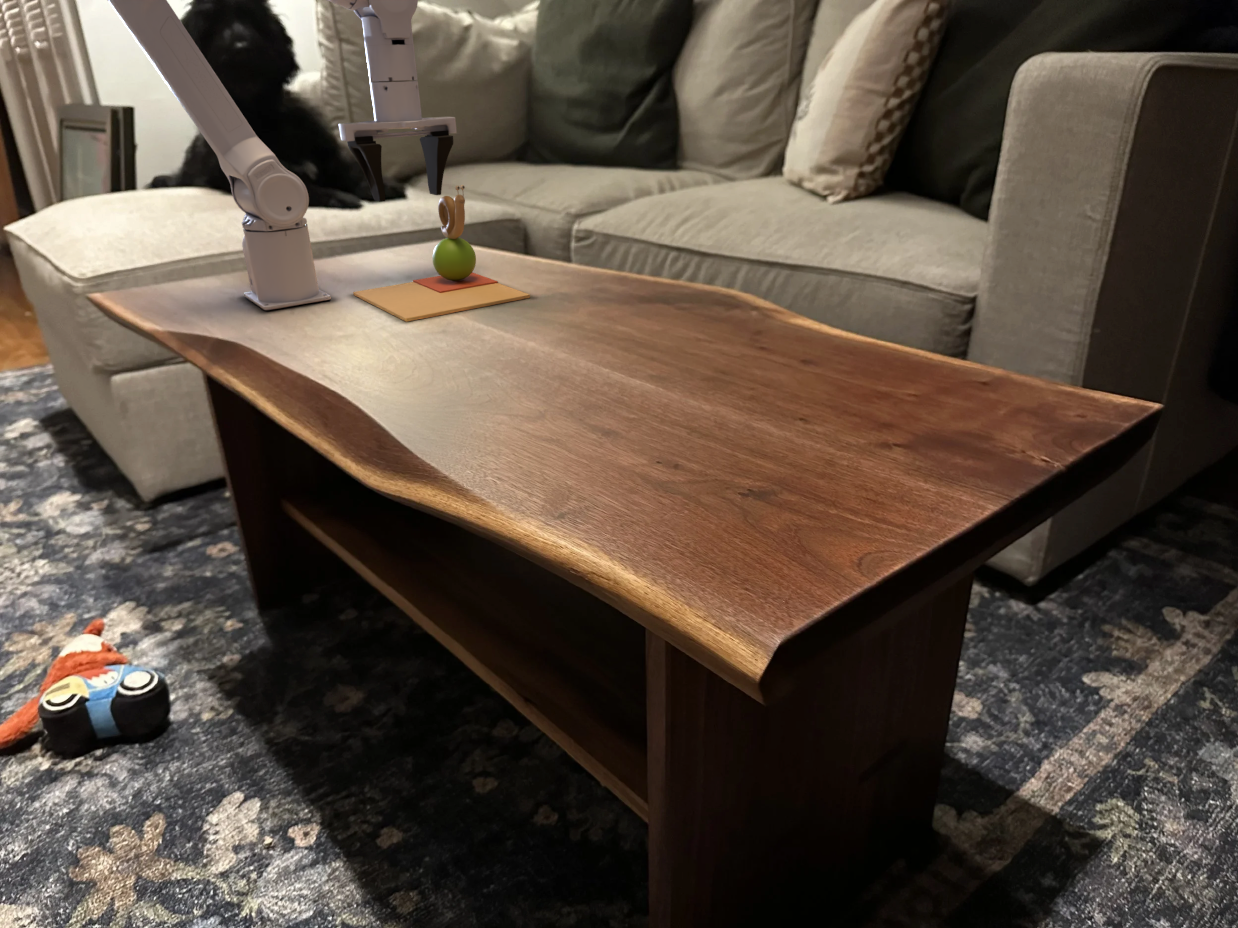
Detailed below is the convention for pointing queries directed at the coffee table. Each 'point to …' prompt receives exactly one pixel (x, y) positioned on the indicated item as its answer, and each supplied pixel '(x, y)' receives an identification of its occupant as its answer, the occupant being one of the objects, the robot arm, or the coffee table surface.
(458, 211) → the snail figurine
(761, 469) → the coffee table surface
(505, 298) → the corner mat
